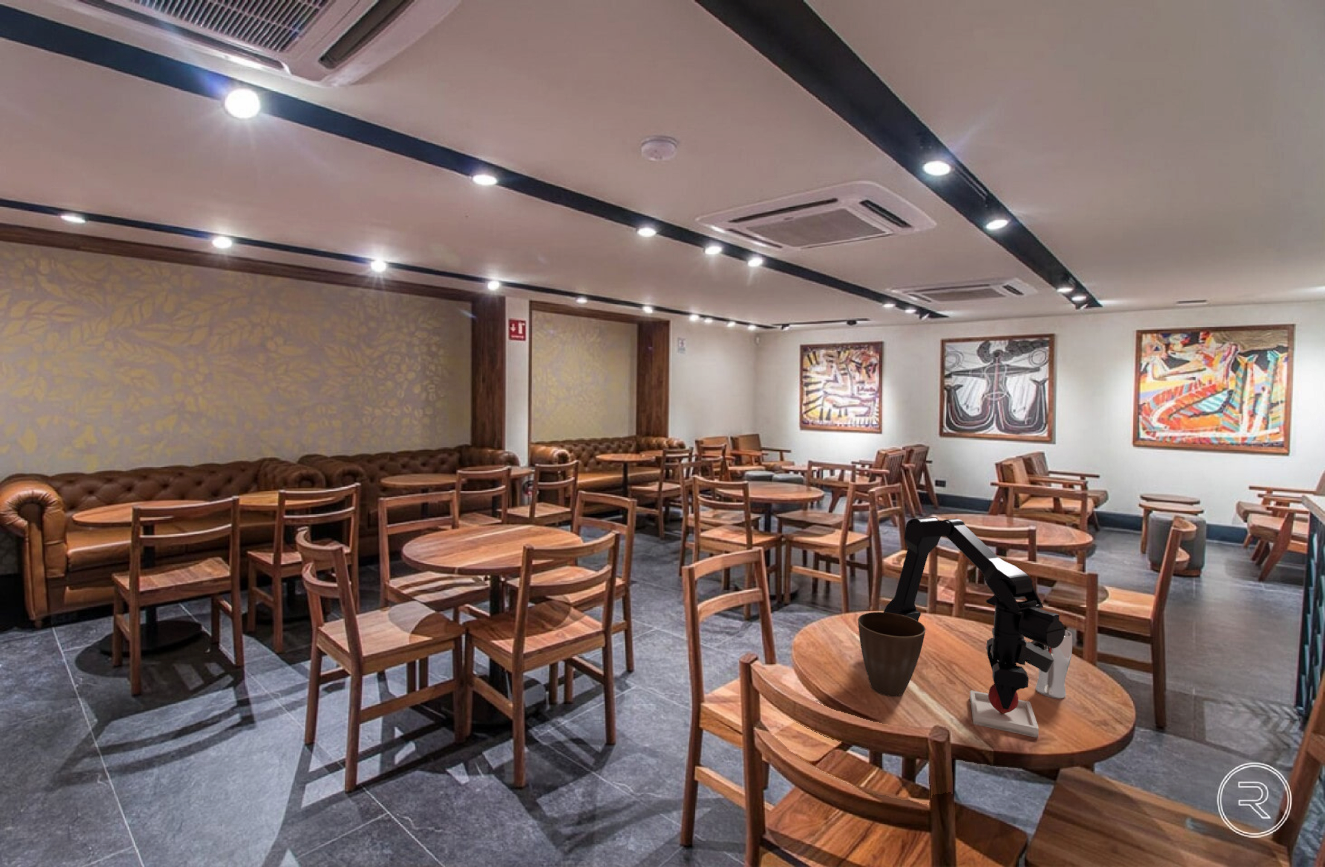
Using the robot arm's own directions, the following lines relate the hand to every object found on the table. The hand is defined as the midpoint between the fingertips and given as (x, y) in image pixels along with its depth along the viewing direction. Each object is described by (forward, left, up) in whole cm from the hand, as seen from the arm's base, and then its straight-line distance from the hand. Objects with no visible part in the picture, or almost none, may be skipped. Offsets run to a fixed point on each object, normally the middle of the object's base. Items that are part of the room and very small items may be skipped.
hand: (1003, 698), depth 137 cm
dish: (0, 0, -4) cm, 4 cm away
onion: (0, 0, -4) cm, 4 cm away
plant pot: (-24, +2, -4) cm, 24 cm away
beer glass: (+12, +18, -4) cm, 22 cm away
